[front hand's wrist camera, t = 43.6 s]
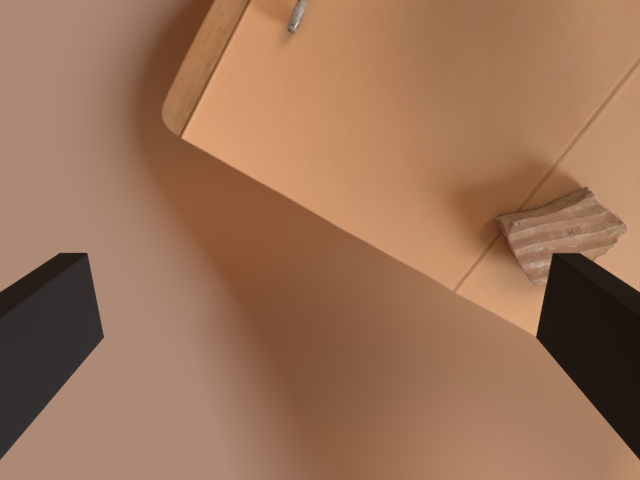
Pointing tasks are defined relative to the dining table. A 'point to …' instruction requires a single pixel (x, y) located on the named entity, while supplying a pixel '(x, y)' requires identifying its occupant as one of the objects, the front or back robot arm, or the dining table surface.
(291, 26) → the putty knife
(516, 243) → the stone
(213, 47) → the dining table surface
